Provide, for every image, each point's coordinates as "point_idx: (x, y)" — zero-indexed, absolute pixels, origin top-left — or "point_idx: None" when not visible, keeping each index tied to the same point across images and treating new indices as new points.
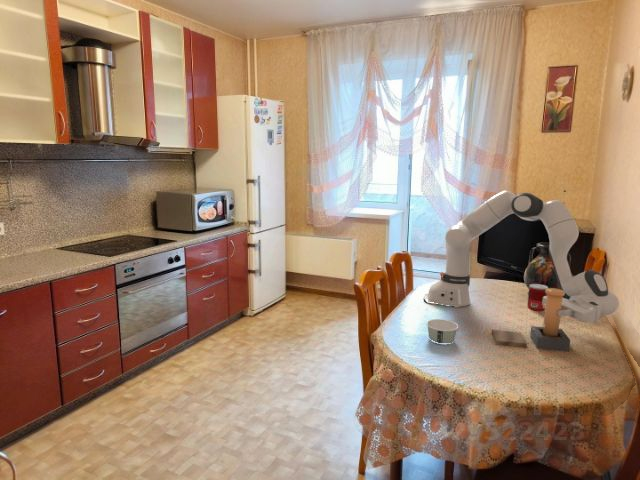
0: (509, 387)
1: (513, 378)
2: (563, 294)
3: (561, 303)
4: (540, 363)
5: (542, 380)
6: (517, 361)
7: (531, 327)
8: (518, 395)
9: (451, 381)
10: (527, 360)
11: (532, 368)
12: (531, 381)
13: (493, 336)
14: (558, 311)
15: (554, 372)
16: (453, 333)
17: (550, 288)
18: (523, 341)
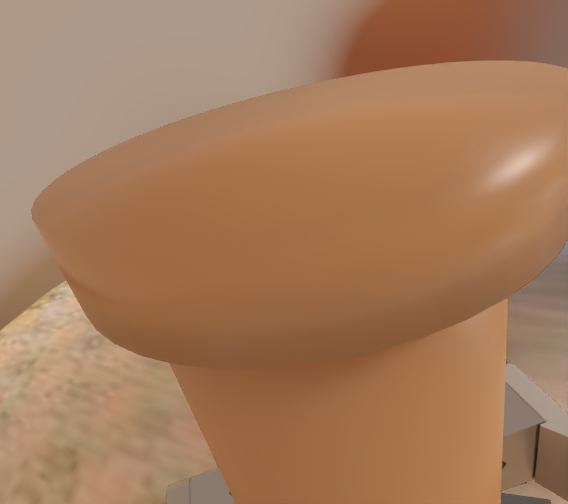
0: (49, 323)
1: (79, 338)
2: (55, 258)
3: (232, 478)
4: (123, 457)
5: (15, 412)
6: (173, 373)
7: (528, 500)
8: (8, 333)
9: None
10: (169, 411)
11: (101, 407)
12: (35, 377)
13: None
14: (198, 475)
15: (25, 486)
16: None
17: (502, 69)
18: None
